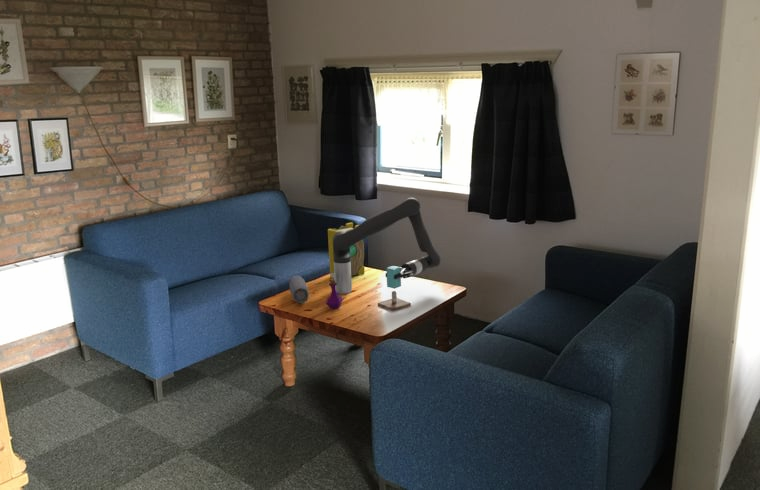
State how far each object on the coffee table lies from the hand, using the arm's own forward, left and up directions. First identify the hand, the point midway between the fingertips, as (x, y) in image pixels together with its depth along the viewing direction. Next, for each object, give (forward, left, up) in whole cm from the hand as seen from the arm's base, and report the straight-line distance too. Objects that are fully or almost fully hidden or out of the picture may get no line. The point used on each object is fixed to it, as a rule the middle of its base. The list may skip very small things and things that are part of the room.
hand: (390, 276), depth 330 cm
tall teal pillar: (0, +3, -6) cm, 7 cm away
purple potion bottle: (-19, -22, -17) cm, 33 cm away
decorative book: (-61, +16, -17) cm, 65 cm away
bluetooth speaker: (-44, -28, -17) cm, 55 cm away
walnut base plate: (0, +2, -16) cm, 16 cm away
